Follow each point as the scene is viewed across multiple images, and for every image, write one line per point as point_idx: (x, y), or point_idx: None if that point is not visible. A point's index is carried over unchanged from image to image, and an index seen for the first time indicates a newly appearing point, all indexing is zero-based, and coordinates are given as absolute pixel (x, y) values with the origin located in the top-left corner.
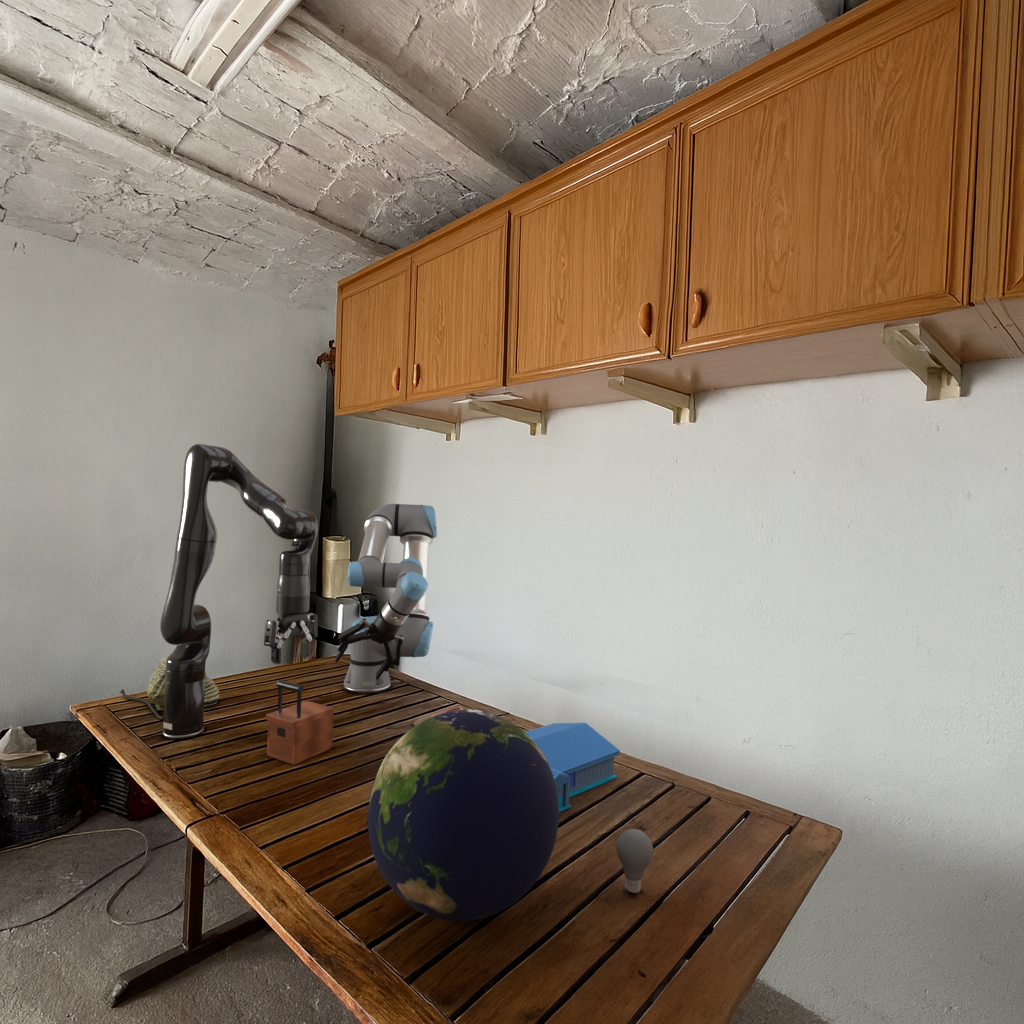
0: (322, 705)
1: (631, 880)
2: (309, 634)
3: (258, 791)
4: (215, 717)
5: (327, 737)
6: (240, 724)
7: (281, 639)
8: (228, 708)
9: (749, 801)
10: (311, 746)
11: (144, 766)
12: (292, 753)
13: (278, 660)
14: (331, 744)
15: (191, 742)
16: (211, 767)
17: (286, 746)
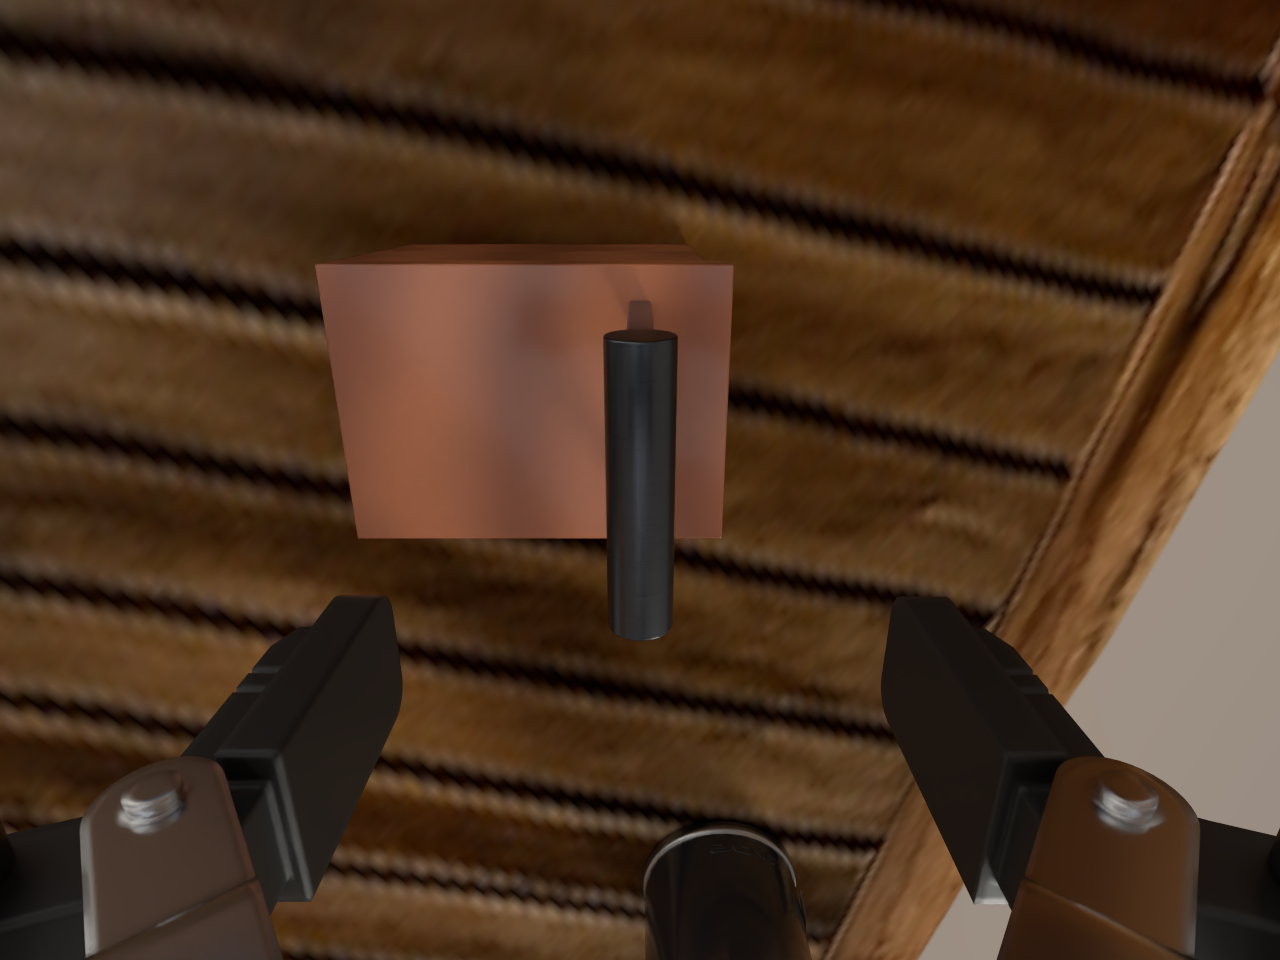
0: (344, 376)
1: None
2: (98, 913)
3: (1008, 139)
4: (529, 918)
5: (432, 249)
6: (512, 800)
7: (1155, 937)
8: (431, 956)
9: None
10: (564, 248)
11: None
12: None
13: (963, 619)
14: (412, 245)
15: (763, 787)
16: (906, 533)
17: None
